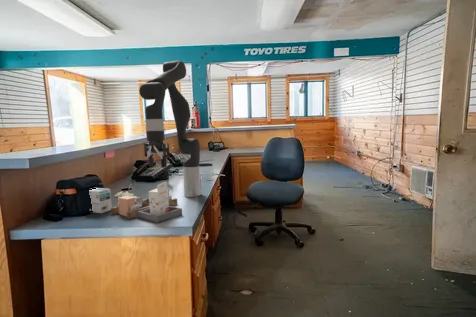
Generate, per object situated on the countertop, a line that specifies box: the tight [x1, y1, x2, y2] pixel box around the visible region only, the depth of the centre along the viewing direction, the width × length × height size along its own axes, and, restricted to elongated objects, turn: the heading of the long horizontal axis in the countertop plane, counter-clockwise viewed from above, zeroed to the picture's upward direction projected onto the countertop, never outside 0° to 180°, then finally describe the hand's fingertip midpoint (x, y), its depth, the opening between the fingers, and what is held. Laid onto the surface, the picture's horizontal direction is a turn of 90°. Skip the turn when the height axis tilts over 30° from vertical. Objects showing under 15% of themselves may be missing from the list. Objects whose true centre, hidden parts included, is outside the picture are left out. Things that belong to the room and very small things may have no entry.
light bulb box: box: [89, 187, 113, 214], centre depth 139 cm, size 11×7×11 cm, turn 65°
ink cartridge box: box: [148, 181, 169, 216], centre depth 126 cm, size 9×5×15 cm, turn 164°
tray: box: [137, 206, 183, 224], centre depth 127 cm, size 14×14×3 cm
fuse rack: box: [110, 195, 178, 220], centre depth 139 cm, size 28×14×5 cm, turn 144°
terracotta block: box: [118, 195, 136, 217], centre depth 131 cm, size 4×7×8 cm, turn 54°
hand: (157, 166), depth 125 cm, fingers open, 8 cm apart
